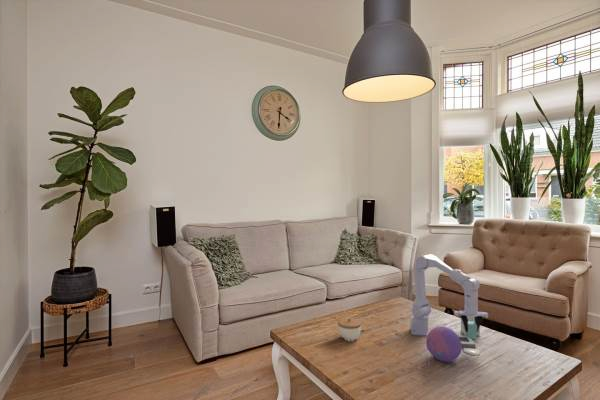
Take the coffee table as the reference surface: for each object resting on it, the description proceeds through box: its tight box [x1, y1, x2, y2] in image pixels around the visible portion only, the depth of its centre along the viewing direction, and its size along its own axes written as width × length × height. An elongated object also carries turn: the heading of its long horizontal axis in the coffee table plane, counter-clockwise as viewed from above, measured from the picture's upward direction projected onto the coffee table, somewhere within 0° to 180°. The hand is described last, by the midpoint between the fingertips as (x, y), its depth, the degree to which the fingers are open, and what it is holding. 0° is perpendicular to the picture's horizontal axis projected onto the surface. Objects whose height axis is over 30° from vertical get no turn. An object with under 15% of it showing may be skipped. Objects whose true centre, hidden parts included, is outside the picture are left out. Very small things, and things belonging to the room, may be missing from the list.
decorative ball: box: [425, 326, 463, 363], centre depth 151 cm, size 15×15×15 cm
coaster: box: [463, 348, 480, 356], centre depth 158 cm, size 7×7×1 cm
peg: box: [466, 321, 478, 340], centre depth 158 cm, size 4×4×7 cm
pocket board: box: [457, 334, 476, 349], centre depth 168 cm, size 18×10×2 cm, turn 79°
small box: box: [460, 316, 481, 336], centre depth 178 cm, size 8×6×10 cm
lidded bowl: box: [337, 316, 362, 341], centre depth 175 cm, size 13×13×11 cm
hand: (471, 331), depth 158 cm, fingers closed on peg, 4 cm apart
